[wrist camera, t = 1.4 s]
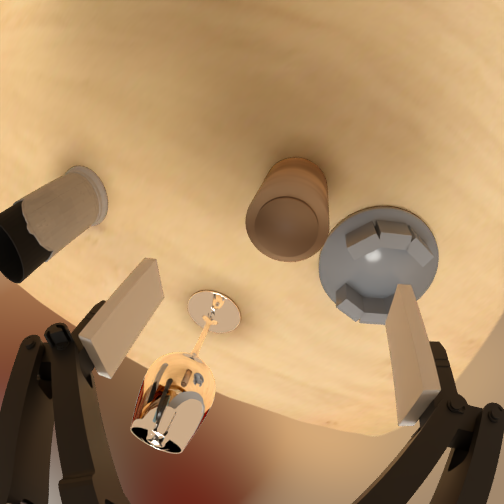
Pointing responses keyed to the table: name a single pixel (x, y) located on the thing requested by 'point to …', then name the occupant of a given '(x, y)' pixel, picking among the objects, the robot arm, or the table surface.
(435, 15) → the table surface
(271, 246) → the stopper
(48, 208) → the glass holder
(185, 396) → the wineglass
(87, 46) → the table surface
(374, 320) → the grey round base
